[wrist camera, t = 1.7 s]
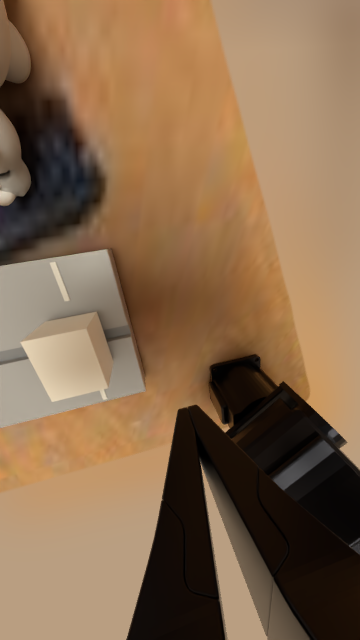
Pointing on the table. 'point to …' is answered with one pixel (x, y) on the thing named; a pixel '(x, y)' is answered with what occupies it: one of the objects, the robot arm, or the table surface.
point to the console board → (55, 303)
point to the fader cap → (70, 356)
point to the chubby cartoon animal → (3, 142)
